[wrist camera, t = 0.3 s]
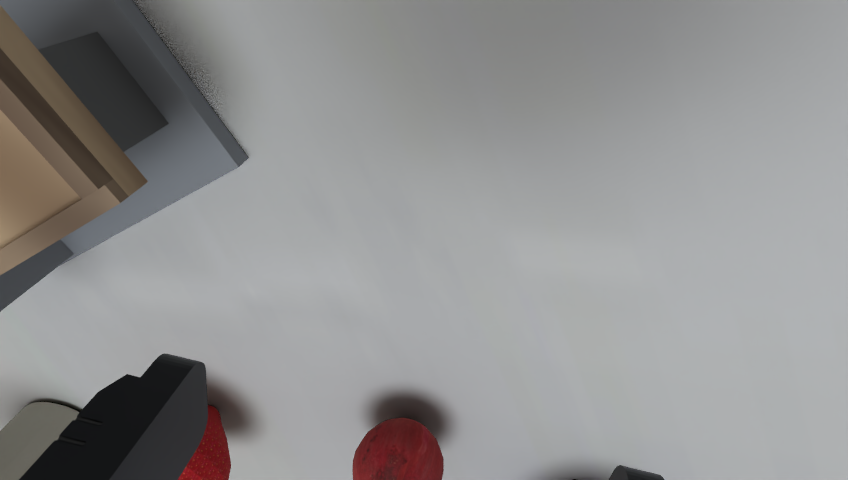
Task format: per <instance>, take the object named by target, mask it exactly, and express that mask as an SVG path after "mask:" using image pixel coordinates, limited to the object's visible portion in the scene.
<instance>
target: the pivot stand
mask: <svg viewBox="0 0 848 480" xmlns="http://www.w3.org/2000/svg"><path fill="white" fill-rule="evenodd" d="M0 5H1V6H2V8H3V9H4V10H5V11H6V12H7V14H8V15H9V16H10V17H11V18H12V20H13V21H14V22H15V23H16V24H17V26H18V27H19V28H20V29H21V30H22V31H23V33H24V34H25V35H26V36H27V37H28V39H29V40H30V41H31V42H32V43H33V45H34V46H35V47H36V48H37V49H38V51H39V52H40V53H41V54H42V55H43V57H44V58H45V59H46V60H47V61H48V63H49V64H50V65H51V66H52V67H53V68H54V70H55V71H56V72H57V73H58V74H59V76H60V77H61V78H62V79H63V80H64V82H65V83H66V84H67V85H68V86H69V88H70V89H71V90H72V91H73V92H74V94H75V95H76V96H77V97H78V98H79V100H80V101H81V102H82V103H83V104H84V105H85V107H86V108H87V109H88V110H89V111H90V113H91V114H92V115H93V116H94V117H95V119H96V120H97V121H98V122H99V123H100V125H101V126H102V127H103V128H104V129H105V131H106V132H107V133H108V134H109V135H110V137H111V138H112V139H113V140H114V141H115V143H116V144H117V145H118V146H119V147H120V148H121V150H122V151H123V152H124V153H125V154H126V156H127V157H128V158H129V159H130V160H131V162H132V163H133V164H134V165H135V166H136V168H137V169H138V170H139V171H140V172H141V174H142V175H143V176H144V177H145V178H146V180H147V181H148V182H147V183H146V184H145V185H143V186H142V187H141V188H139V189H138V190H137V191H136V192H134V193H133V194H132V195H130V196H129V197H128V198H126V199H125V200H124V201H123V202H121V203H120V204H118V205H117V206H115V207H113V208H112V209H110V210H108V211H107V212H105V213H103V214H102V215H100V216H98V217H97V218H95V219H93V220H92V221H90V222H88V223H87V224H85V225H83V226H82V227H80V228H78V229H77V230H75V231H73V232H72V233H70V234H68V235H67V236H65V237H63V238H62V239H60V240H58V241H57V242H55V243H53V244H52V245H50V246H48V247H47V248H45V249H43V250H42V251H40V252H38V253H37V254H35V255H33V256H32V257H30V258H28V259H27V260H25V261H23V262H22V263H20V264H18V265H17V266H15V267H13V268H12V269H10V270H8V271H7V272H5V273H3V274H2V275H0V311H1V310H3V309H4V308H5V307H6V306H8V305H9V304H10V303H12V302H13V301H14V300H15V299H17V298H18V297H19V296H21V295H22V294H23V293H24V292H26V291H27V290H28V289H30V288H31V287H32V286H33V285H35V284H36V283H37V282H38V281H40V280H41V279H42V278H44V277H45V276H46V275H47V274H49V273H50V272H51V271H53V270H54V269H55V268H56V267H58V266H60V265H61V264H63V263H65V262H67V261H69V260H71V259H72V258H74V257H76V256H78V255H80V254H81V253H83V252H85V251H87V250H89V249H91V248H92V247H94V246H96V245H98V244H100V243H101V242H103V241H105V240H107V239H109V238H111V237H112V236H114V235H116V234H118V233H120V232H121V231H123V230H125V229H127V228H129V227H130V226H132V225H134V224H136V223H138V222H140V221H141V220H143V219H145V218H147V217H149V216H150V215H152V214H154V213H156V212H158V211H160V210H161V209H163V208H165V207H167V206H169V205H170V204H172V203H174V202H176V201H178V200H180V199H181V198H183V197H185V196H187V195H189V194H190V193H192V192H194V191H196V190H198V189H199V188H201V187H203V186H205V185H207V184H209V183H210V182H212V181H214V180H216V179H218V178H219V177H221V176H223V175H225V174H227V173H229V172H230V171H232V170H234V169H236V168H238V167H239V166H240V165H241V164H242V163H243V162H244V161H246V160H247V159H248V157H247V155H246V154H245V153H244V151H243V150H242V148H241V147H240V146H239V144H238V143H237V142H236V140H235V139H234V138H233V136H232V135H231V133H230V132H229V131H228V129H227V128H226V127H225V125H224V124H223V123H222V121H221V120H220V119H219V117H218V116H217V114H216V113H215V112H214V110H213V109H212V108H211V106H210V105H209V104H208V102H207V101H206V99H205V98H204V97H203V95H202V94H201V93H200V91H199V90H198V89H197V87H196V86H195V85H194V83H193V82H192V80H191V79H190V78H189V76H188V75H187V74H186V72H185V71H184V70H183V68H182V67H181V65H180V64H179V63H178V61H177V60H176V59H175V57H174V56H173V55H172V53H171V52H170V51H169V49H168V48H167V46H166V45H165V44H164V42H163V41H162V40H161V38H160V37H159V36H158V34H157V33H156V32H155V30H154V29H153V27H152V26H151V25H150V23H149V22H148V21H147V19H146V18H145V17H144V15H143V14H142V12H141V11H140V10H139V8H138V7H137V6H136V4H135V3H134V2H133V0H0Z"/></svg>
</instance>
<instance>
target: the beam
mask: <svg viewBox="0 0 848 480" xmlns="http://www.w3.org/2000/svg"><path fill="white" fill-rule="evenodd" d="M147 182H148V181H147V180H146V178H145V177H144V176H143V175H142V174H141V172H140V171H139V170H138V169H137V168H136V166H135V165H134V164H133V163H132V162H131V160H130V159H129V158H128V157H127V156H126V154H125V153H124V152H123V151H122V150H121V148H120V147H119V146H118V145H117V144H116V143H115V141H114V140H113V139H112V138H111V137H110V135H109V134H108V133H107V132H106V131H105V129H104V128H103V127H102V126H101V125H100V123H99V122H98V121H97V120H96V119H95V117H94V116H93V115H92V114H91V113H90V111H89V110H88V109H87V108H86V107H85V105H84V104H83V103H82V102H81V101H80V100H79V98H78V97H77V96H76V95H75V94H74V92H73V91H72V90H71V89H70V88H69V86H68V85H67V84H66V83H65V82H64V80H63V79H62V78H61V77H60V76H59V74H58V73H57V72H56V71H55V70H54V68H53V67H52V66H51V65H50V64H49V63H48V61H47V60H46V59H45V58H44V57H43V55H42V54H41V53H40V52H39V51H38V49H37V48H36V47H35V46H34V45H33V43H32V42H31V41H30V40H29V39H28V37H27V36H26V35H25V34H24V33H23V31H22V30H21V29H20V28H19V27H18V26H17V24H16V23H15V22H14V21H13V20H12V18H11V17H10V16H9V15H8V14H7V12H6V11H5V10H4V9H3V8H2V6H1V5H0V275H2V274H3V273H5V272H7V271H8V270H10V269H12V268H13V267H15V266H17V265H18V264H20V263H22V262H23V261H25V260H27V259H28V258H30V257H32V256H33V255H35V254H37V253H38V252H40V251H42V250H43V249H45V248H47V247H48V246H50V245H52V244H53V243H55V242H57V241H58V240H60V239H62V238H63V237H65V236H67V235H68V234H70V233H72V232H73V231H75V230H77V229H78V228H80V227H82V226H83V225H85V224H87V223H88V222H90V221H92V220H93V219H95V218H97V217H98V216H100V215H102V214H103V213H105V212H107V211H108V210H110V209H112V208H113V207H115V206H117V205H118V204H120V203H121V202H123V201H124V200H125V199H126V198H128V197H129V196H130V195H132V194H133V193H134V192H136V191H137V190H138V189H139V188H141V187H142V186H143V185H145V184H146V183H147Z"/></svg>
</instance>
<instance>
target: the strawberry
mask: <svg viewBox="0 0 848 480" xmlns="http://www.w3.org/2000/svg"><path fill="white" fill-rule="evenodd" d="M230 468H231V461H230V455H229V449H228V444H227V438H226V435H225V432H224V429H223V427H222V423H221V417H220V414H219V412H218V410H217V409H216V408H215V407H213V406H211V405H208V420H207V425H206V429H205V432H204V435H203V438H202V440H201V442H200V444H199V446H198V448H197V449H196V451H195V453H194V454H193V456H192V458H191V459H190V461H189V462H188V464H187V466H186V467H185V469H184V470H183V472H182V474H181V475H180V477H179V479H178V480H228V479H229V474H230Z"/></svg>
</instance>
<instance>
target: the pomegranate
mask: <svg viewBox="0 0 848 480" xmlns="http://www.w3.org/2000/svg"><path fill="white" fill-rule="evenodd" d="M442 475H443V456H442V453H441V450H440V447H439V445H438V442H437V440H436V438H435V437H434V436H433V435H432V434H431V433H430V431H429V430H428V429H427V428H426V427H425V426H424V425H423V424H421V423H419V422H417V421H415V420H412V419H407V418H395V419H389V420H386V421H384V422H382V423H380V424H379V425H377V426H375V427H374V428H373V429H371V430H370V431H369V432H368V433H367V434H366V436H365V437H364V438H363V440H362V441H361V443H360V445H359V446H358V448H357V450H356V452H355V456H354V459H353V480H442Z"/></svg>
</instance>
